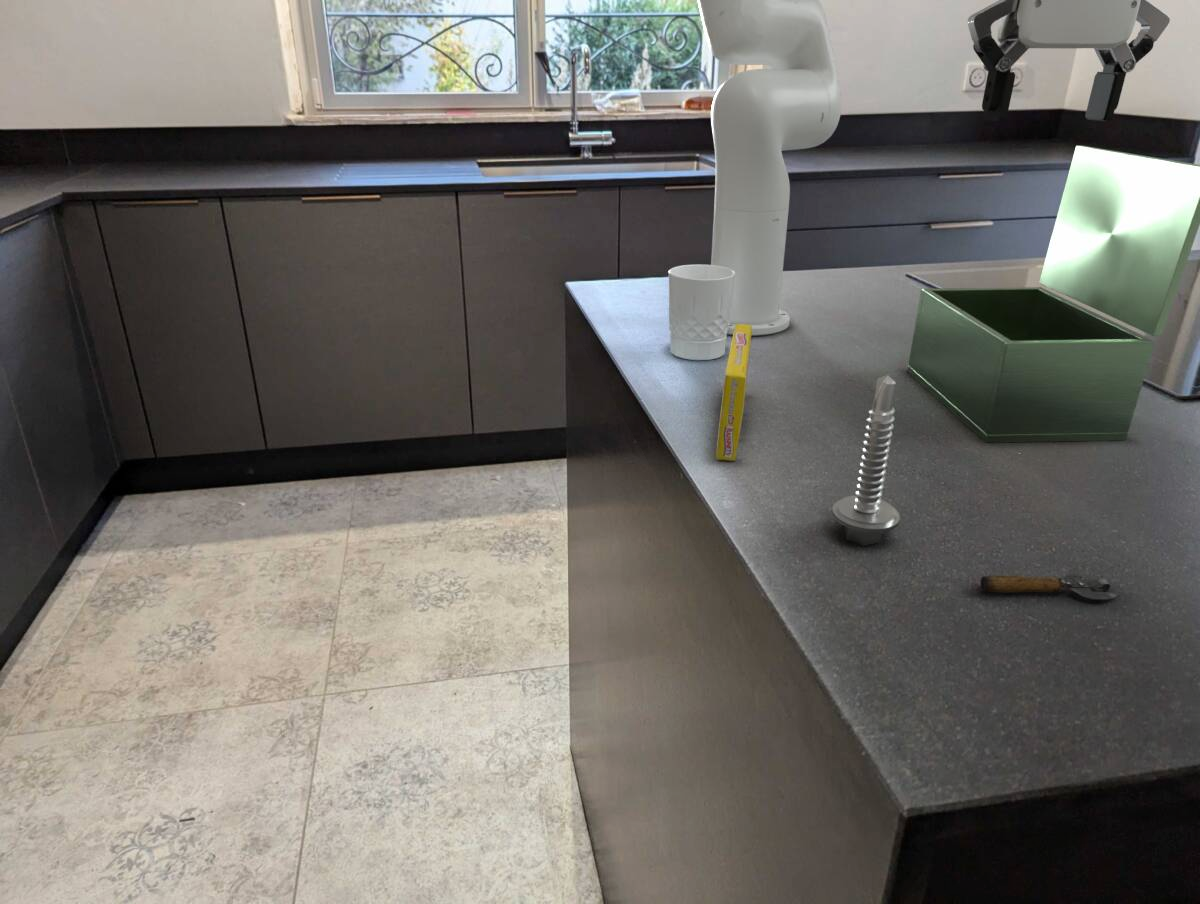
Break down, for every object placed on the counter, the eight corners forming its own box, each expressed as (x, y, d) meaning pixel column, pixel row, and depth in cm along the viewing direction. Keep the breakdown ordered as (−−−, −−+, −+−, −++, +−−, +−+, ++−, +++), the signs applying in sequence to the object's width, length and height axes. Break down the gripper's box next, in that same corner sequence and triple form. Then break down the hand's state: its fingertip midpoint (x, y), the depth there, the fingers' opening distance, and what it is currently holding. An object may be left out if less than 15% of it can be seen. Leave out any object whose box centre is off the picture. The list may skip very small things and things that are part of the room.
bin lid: (1210, 167, 68) (1275, 170, 68) (1075, 145, 85) (1127, 147, 85) (1152, 336, 74) (1212, 337, 74) (1038, 282, 91) (1087, 284, 92)
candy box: (739, 463, 74) (746, 376, 70) (715, 461, 74) (721, 374, 71) (746, 397, 88) (753, 322, 84) (726, 396, 88) (732, 321, 85)
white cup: (657, 358, 100) (660, 276, 95) (675, 339, 106) (678, 262, 102) (722, 365, 97) (727, 282, 93) (735, 346, 104) (741, 267, 100)
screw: (880, 561, 59) (818, 538, 62) (905, 534, 63) (845, 514, 65) (909, 392, 54) (839, 376, 56) (935, 373, 57) (868, 358, 60)
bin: (985, 442, 78) (1007, 343, 73) (907, 371, 95) (921, 288, 91) (1125, 440, 78) (1155, 341, 74) (1021, 370, 96) (1041, 287, 92)
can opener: (983, 595, 55) (986, 580, 55) (973, 575, 57) (976, 561, 57) (1125, 605, 54) (1130, 591, 54) (1110, 585, 56) (1115, 571, 56)
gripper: (1168, -96, 71) (1113, 117, 79) (972, -98, 70) (935, 117, 78) (1232, -111, 64) (1165, 123, 72) (1015, -114, 64) (971, 123, 71)
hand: (1046, 120), depth 75 cm, fingers open, 9 cm apart
